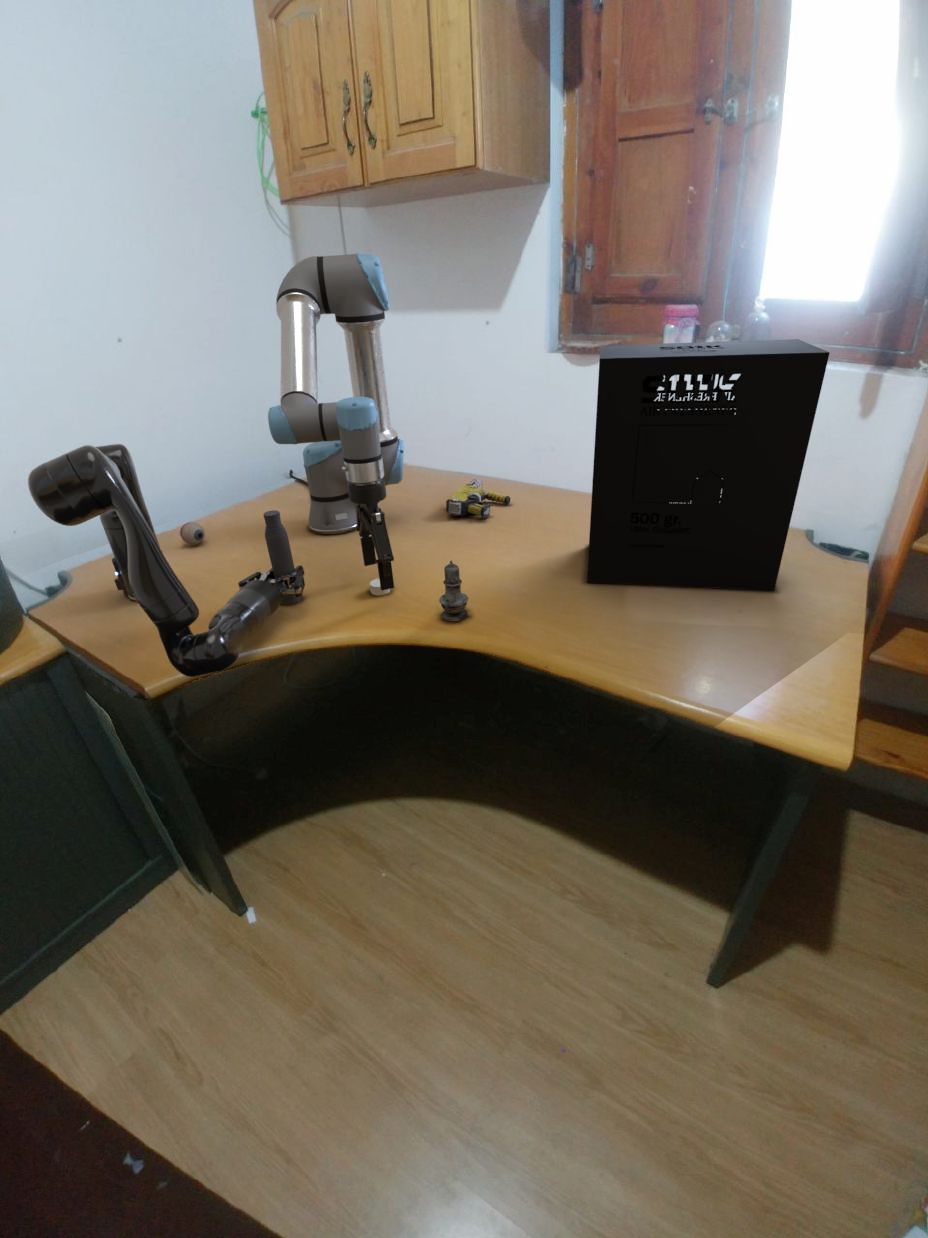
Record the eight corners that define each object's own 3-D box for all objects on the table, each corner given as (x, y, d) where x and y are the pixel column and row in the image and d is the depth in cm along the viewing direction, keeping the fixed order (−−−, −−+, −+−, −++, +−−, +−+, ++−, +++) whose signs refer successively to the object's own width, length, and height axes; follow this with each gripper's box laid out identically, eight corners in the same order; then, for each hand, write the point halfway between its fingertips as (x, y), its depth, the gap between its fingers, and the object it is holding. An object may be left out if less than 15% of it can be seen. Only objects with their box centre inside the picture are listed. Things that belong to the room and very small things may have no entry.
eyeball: (193, 549, 159) (187, 528, 156) (179, 545, 162) (172, 524, 159) (212, 541, 163) (206, 520, 160) (198, 538, 166) (191, 517, 163)
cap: (375, 585, 135) (374, 577, 134) (393, 587, 134) (392, 579, 133) (367, 594, 132) (366, 585, 131) (385, 596, 130) (384, 587, 129)
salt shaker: (466, 622, 119) (462, 567, 113) (437, 621, 120) (432, 566, 114) (471, 608, 123) (469, 554, 117) (443, 606, 125) (439, 553, 119)
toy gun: (518, 484, 183) (472, 477, 187) (496, 507, 163) (444, 499, 167) (517, 499, 185) (471, 492, 189) (494, 524, 165) (443, 515, 169)
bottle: (293, 606, 129) (273, 517, 119) (275, 603, 130) (255, 515, 120) (304, 596, 132) (287, 509, 122) (288, 594, 134) (269, 508, 124)
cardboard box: (754, 550, 140) (797, 339, 118) (774, 590, 123) (829, 352, 101) (589, 545, 148) (601, 345, 125) (586, 582, 131) (599, 358, 108)
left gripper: (281, 591, 113) (318, 553, 127) (213, 587, 116) (256, 551, 130) (289, 625, 117) (324, 585, 131) (223, 621, 119) (264, 582, 134)
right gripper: (333, 467, 129) (348, 558, 140) (363, 501, 109) (377, 604, 120) (367, 462, 131) (379, 552, 142) (402, 494, 111) (413, 595, 122)
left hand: (290, 568), depth 130 cm, fingers closed on bottle, 4 cm apart
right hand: (378, 576), depth 131 cm, fingers open, 13 cm apart
